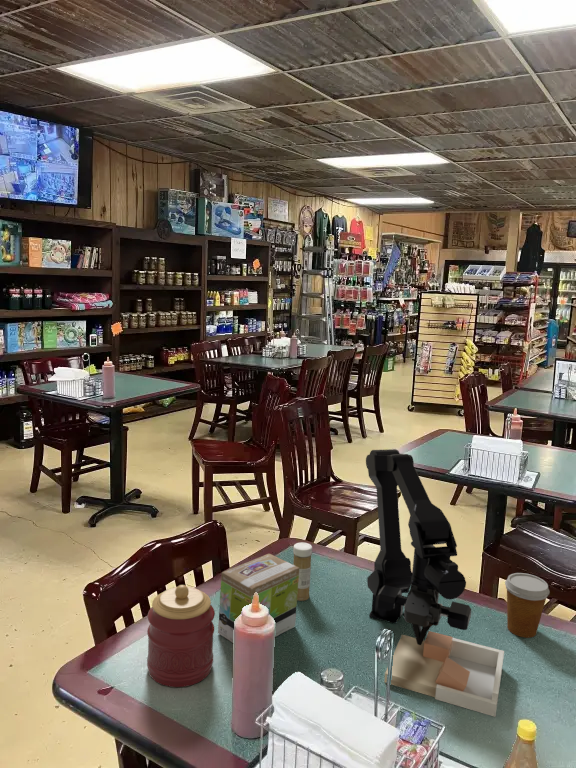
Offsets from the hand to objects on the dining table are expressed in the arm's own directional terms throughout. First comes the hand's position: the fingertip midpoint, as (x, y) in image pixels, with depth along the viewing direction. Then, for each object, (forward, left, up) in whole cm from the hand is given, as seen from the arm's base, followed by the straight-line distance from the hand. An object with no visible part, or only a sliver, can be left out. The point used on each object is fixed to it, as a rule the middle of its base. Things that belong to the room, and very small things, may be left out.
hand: (419, 643), depth 133 cm
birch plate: (+1, -4, -3) cm, 5 cm away
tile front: (+7, -7, -2) cm, 11 cm away
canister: (-42, -25, -3) cm, 50 cm away
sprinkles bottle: (-31, +12, -3) cm, 34 cm away
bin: (+11, -4, -3) cm, 12 cm away
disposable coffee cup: (+20, +22, -3) cm, 29 cm away
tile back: (+4, 0, -1) cm, 4 cm away
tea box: (-34, -6, -3) cm, 35 cm away
